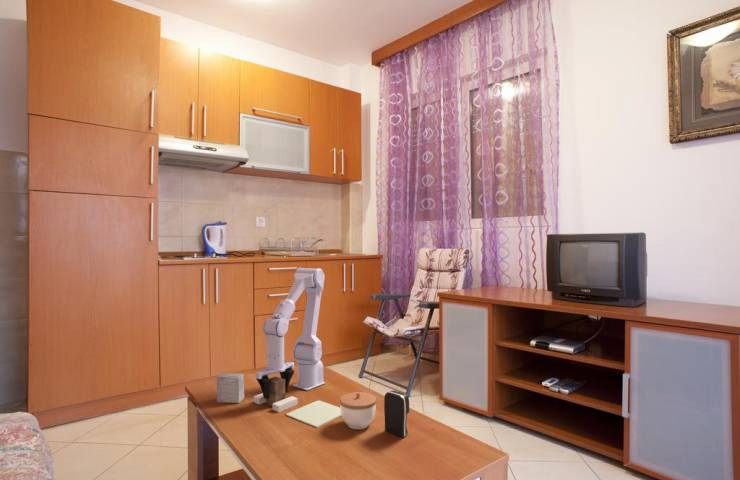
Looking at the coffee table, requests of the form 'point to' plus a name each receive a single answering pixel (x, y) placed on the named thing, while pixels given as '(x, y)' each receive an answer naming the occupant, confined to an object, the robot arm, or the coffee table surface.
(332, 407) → the mat
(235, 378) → the medicine box
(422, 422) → the coffee table surface
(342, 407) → the lidded jar
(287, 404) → the slot blocks
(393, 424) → the battery charger
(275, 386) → the walnut block
